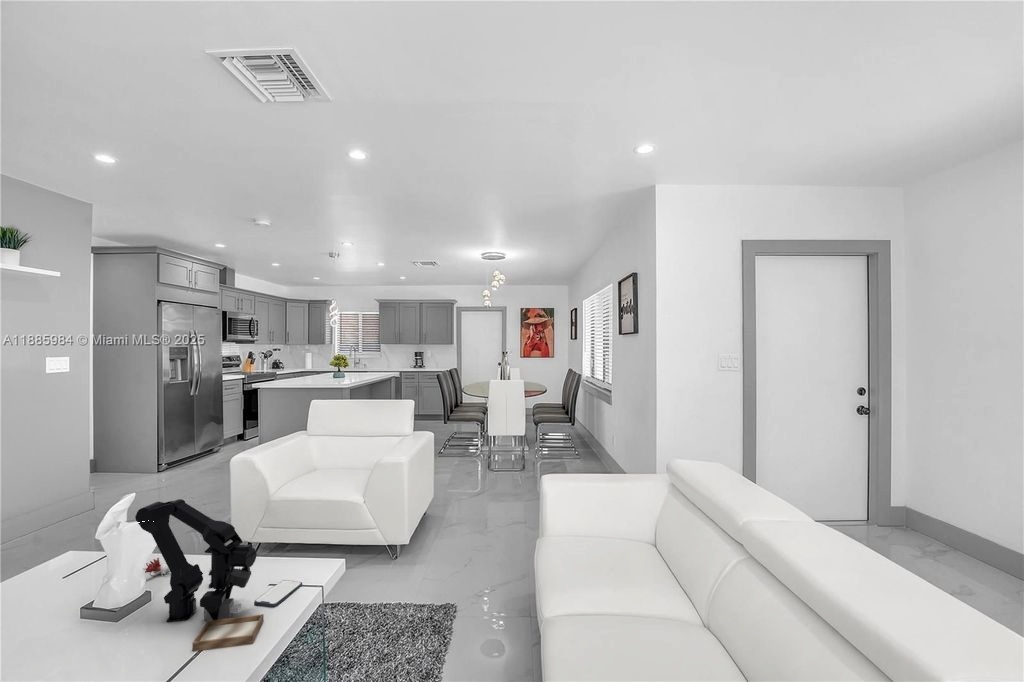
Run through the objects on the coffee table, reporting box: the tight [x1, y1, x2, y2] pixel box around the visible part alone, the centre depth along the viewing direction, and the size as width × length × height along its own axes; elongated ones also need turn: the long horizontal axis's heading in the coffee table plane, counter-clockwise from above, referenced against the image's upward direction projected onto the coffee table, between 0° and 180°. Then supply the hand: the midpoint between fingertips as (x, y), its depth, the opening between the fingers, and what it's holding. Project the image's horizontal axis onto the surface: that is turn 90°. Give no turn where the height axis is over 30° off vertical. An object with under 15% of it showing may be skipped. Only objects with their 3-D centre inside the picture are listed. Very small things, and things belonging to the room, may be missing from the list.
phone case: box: [253, 579, 303, 609], centre depth 168 cm, size 9×2×16 cm
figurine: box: [144, 557, 171, 578], centre depth 182 cm, size 15×12×7 cm
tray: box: [191, 614, 265, 652], centre depth 145 cm, size 16×11×2 cm
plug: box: [203, 597, 242, 623], centre depth 154 cm, size 10×4×5 cm, turn 104°
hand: (221, 612), depth 154 cm, fingers open, 9 cm apart
